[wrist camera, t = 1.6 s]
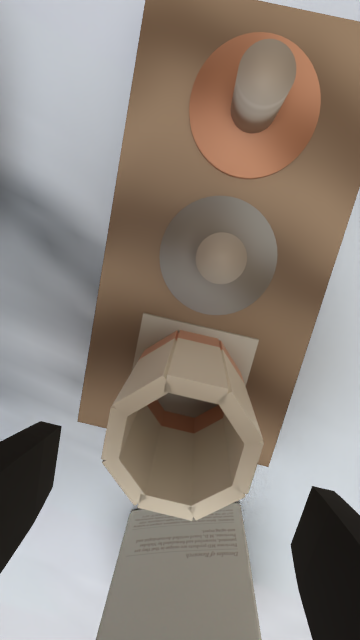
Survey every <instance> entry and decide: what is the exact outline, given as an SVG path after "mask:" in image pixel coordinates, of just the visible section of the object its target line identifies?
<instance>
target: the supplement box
mask: <svg viewBox="0 0 360 640" xmlns="http://www.w3.org/2000/svg"><path fill="white" fill-rule="evenodd" d="M96 640H262V639H261V633H260V626H259V620H258V613H257V607H256V600H255V594H254V587H253V580H252V573H251V566H250V560H249V553H248V547H247V541H246V535H245V530H244V524H243V518H242V512H241V505H240V504H239V503H232V504H230V505H228V506H226V507H223V508H221V509H219V510H217V511H215V512H213V513H211V514H209V515H207V516H205V517H203V518H200V519H198V520H195V518H194V517H193V519H192V521H190V520H186V519H182V518H178V517H174V516H169V515H165V514H161V513H157V512H153V511H149V510H145V509H141V510H134V511H132V512H131V513H130V515H129V519H128V522H127V526H126V530H125V533H124V537H123V540H122V544H121V548H120V551H119V555H118V559H117V563H116V566H115V570H114V574H113V578H112V581H111V585H110V589H109V592H108V596H107V600H106V603H105V607H104V611H103V615H102V618H101V622H100V626H99V629H98V633H97V637H96Z"/></svg>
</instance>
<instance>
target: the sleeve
mask: <svg viewBox="0 0 360 640" xmlns="http://www.w3.org/2000/svg"><path fill="white" fill-rule="evenodd" d="M167 393H172V394H176V395H180V396H185V397H189V398H193V399H198V400H202V401H206V402H210V403H215V404H219V405H217V406H215V407H214V408H212V409H210V410H208V411H206V412H204V413H203V414H201V415H199V416H197V417H195V418H193V417H189V416H185V415H181V414H176V413H172V412H168V411H165V410H164V409H163V407H162V406H161V405H160V403H159V402H158V400H157V399H159V398H160V397H162V396H164V395H166V394H167ZM263 445H264V443H263V438H262V435H261V432H260V429H259V426H258V423H257V420H256V417H255V414H254V411H253V408H252V405H251V402H250V399H249V396H248V393H247V390H246V387H245V384H244V381H243V378H242V375H241V372H240V370H239V369H238V367H237V365H236V364H235V362H234V361H233V359H232V358H231V356H230V354H229V353H228V351H227V350H226V348H225V346H224V345H223V343H222V342H221V340H220V341H219V340H218V338H213V337H209V336H205V335H200V334H196V333H192V332H187V331H183V330H180V331H179V332H178V331H175V332H173V333H172V334H170V335H168V336H167V337H165V338H164V339H162V340H160V341H159V342H157V343H155V344H154V345H152V346H150V347H149V348H147V349H145V351H144V352H143V353H142V355H141V357H140V359H139V360H138V362H137V364H136V365H135V367H134V369H133V370H132V372H131V374H130V376H129V377H128V379H127V381H126V382H125V384H124V386H123V387H122V389H121V391H120V393H119V394H118V396H117V398H116V399H115V401H114V403H113V405H112V406H111V408H110V414H109V419H108V425H107V430H106V435H105V441H104V446H103V451H102V457H101V459H103V462H102V463H103V465H104V466H105V467H106V469H107V470H108V471H109V473H110V474H111V475H112V477H113V478H114V479H115V481H116V482H117V483H118V485H119V486H120V487H121V489H122V490H123V491H124V493H125V494H126V495H127V497H128V498H129V499H130V501H131V502H132V503H133V505H136V504H138V507H137V508H140V509H145V510H149V511H153V512H157V513H161V514H165V515H169V516H174V517H178V518H182V519H186V520H190V521H192V519H193V517H194V518H195V520H198V519H200V518H203V517H205V516H207V515H209V514H211V513H213V512H215V511H217V510H219V509H221V508H223V507H226V506H228V505H230V504H232V503H234V502H236V501H238V500H240V499H242V498H244V497H245V494H248V492H249V489H250V486H251V483H252V480H253V477H254V473H255V470H256V467H257V464H258V461H259V458H260V454H261V451H262V448H263Z"/></svg>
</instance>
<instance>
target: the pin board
mask: <svg viewBox="0 0 360 640" xmlns="http://www.w3.org/2000/svg"><path fill="white" fill-rule="evenodd" d="M359 187H360V22H359V21H354V20H349V19H344V18H339V17H335V16H330V15H325V14H320V13H316V12H311V11H306V10H301V9H296V8H292V7H287V6H282V5H277V4H272V3H268V2H263V1H258V0H145V6H144V13H143V19H142V25H141V31H140V37H139V43H138V50H137V56H136V62H135V68H134V74H133V81H132V87H131V93H130V99H129V105H128V112H127V118H126V124H125V130H124V136H123V143H122V149H121V155H120V161H119V167H118V173H117V180H116V186H115V192H114V198H113V204H112V211H111V217H110V223H109V229H108V235H107V242H106V248H105V254H104V260H103V266H102V272H101V279H100V285H99V291H98V297H97V303H96V310H95V316H94V322H93V328H92V334H91V341H90V347H89V353H88V359H87V365H86V372H85V378H84V384H83V390H82V396H81V402H80V409H79V415H78V421H77V422H82V423H86V424H90V425H94V426H98V427H103V428H107V425H108V419H109V414H110V408H111V406H112V405H113V403H114V401H115V399H116V398H117V396H118V394H119V393H120V391H121V389H122V387H123V386H124V384H125V382H126V381H127V379H128V377H129V376H130V374H131V372H132V370H133V369H134V367H135V365H136V364H137V362H138V360H139V359H140V357H141V355H142V353H143V352H144V351H145V349H147V348H149V347H150V346H152V345H154V344H155V343H157V342H159V341H160V340H162V339H164V338H165V337H167V336H168V335H170V334H172V333H173V332H175V331H178V332H179V331H180V330H183V331H187V332H192V333H196V334H200V335H205V336H209V337H213V338H218V340H219V341H220V340H221V342H222V343H223V345H224V346H225V348H226V350H227V351H228V353H229V354H230V356H231V358H232V359H233V361H234V362H235V364H236V365H237V367H238V369H239V370H240V372H241V375H242V378H243V381H244V384H245V387H246V390H247V393H248V396H249V399H250V402H251V405H252V408H253V411H254V414H255V417H256V420H257V423H258V426H259V429H260V432H261V435H262V438H263V443H264V445H263V448H262V451H261V454H260V458H259V461H258V465H263V466H267V467H268V466H269V463H270V460H271V457H272V454H273V451H274V448H275V445H276V442H277V439H278V436H279V433H280V429H281V426H282V423H283V420H284V417H285V414H286V411H287V408H288V405H289V402H290V399H291V396H292V393H293V390H294V387H295V383H296V380H297V377H298V374H299V371H300V368H301V365H302V362H303V359H304V356H305V353H306V350H307V347H308V344H309V341H310V337H311V334H312V331H313V328H314V325H315V322H316V319H317V316H318V313H319V310H320V307H321V304H322V301H323V298H324V295H325V291H326V288H327V285H328V282H329V279H330V276H331V273H332V270H333V267H334V264H335V261H336V258H337V255H338V252H339V249H340V246H341V242H342V239H343V236H344V233H345V230H346V227H347V224H348V221H349V218H350V215H351V212H352V209H353V206H354V203H355V200H356V196H357V193H358V190H359ZM157 400H158V402H159V403H160V405H161V406H162V407H163V409H164V410H165V411H168V412H172V413H176V414H181V415H185V416H189V417H193V418H195V417H197V416H199V415H201V414H203V413H204V412H206V411H208V410H210V409H212V408H214V407H215V406H217V405H219V404H215V403H210V402H206V401H202V400H198V399H193V398H189V397H185V396H180V395H176V394H172V393H167V394H166V395H164V396H162V397H160V398H159V399H157Z"/></svg>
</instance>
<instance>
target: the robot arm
mask: <svg viewBox="0 0 360 640" xmlns="http://www.w3.org/2000/svg"><path fill="white" fill-rule="evenodd" d="M60 433H61V426H58V425H54V424H50V423H46V422H42V421H41V422H38V423H36V424H34V425H32V426H30V427H28V428H26V429H24V430H22V431H20V432H18V433H16V434H14V435H13V436H11V437H9V438H7V439H5V440H3V441H1V442H0V573H1V572H2V570H3V569H4V567H5V566H6V564H7V563H8V561H9V560H10V558H11V557H12V555H13V554H14V552H15V551H16V549H17V548H18V546H19V545H20V543H21V542H22V540H23V539H24V537H25V536H26V534H27V533H28V531H29V530H30V528H31V527H32V525H33V523H34V522H35V520H36V518H37V516H38V514H39V512H40V510H41V509H42V507H43V505H44V503H45V501H46V499H47V497H48V495H49V493H50V491H51V489H52V487H53V481H54V475H55V468H56V461H57V454H58V447H59V440H60ZM291 549H292V556H293V562H294V568H295V573H296V579H297V584H298V589H299V593H300V597H301V600H302V604H303V607H304V611H305V614H306V618H307V622H308V625H309V629H310V632H311V636H312V639H313V640H360V515H359V514H358V513H357V512H356V511H355V510H354V509H353V508H352V507H351V506H350V505H349V504H347V503H346V502H345V501H344V500H343V499H342V498H341V497H340V496H339V495H338V494H337V493H336V492H334V491H331V490H327V489H322V488H318V487H314V486H312V488H311V491H310V494H309V497H308V499H307V502H306V505H305V507H304V510H303V513H302V516H301V518H300V521H299V524H298V527H297V529H296V532H295V535H294V537H293V540H292V543H291Z"/></svg>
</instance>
